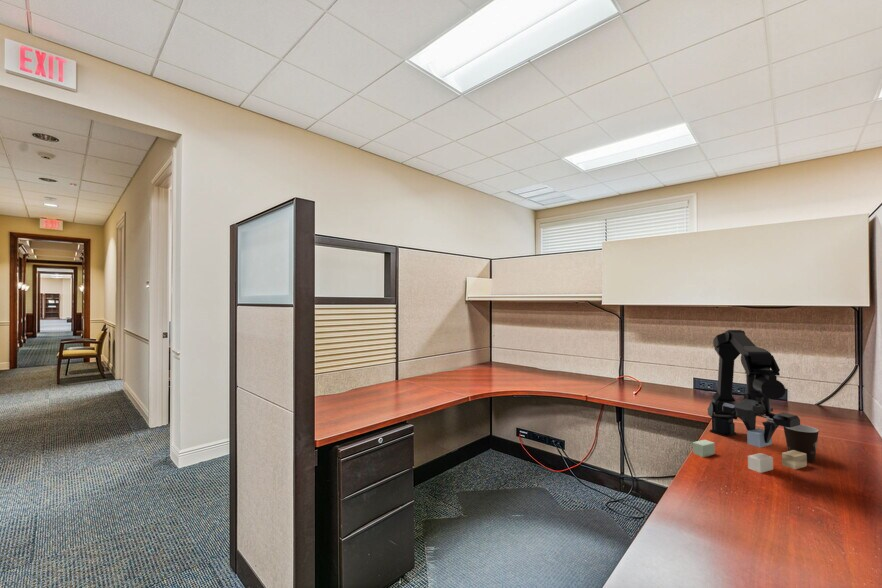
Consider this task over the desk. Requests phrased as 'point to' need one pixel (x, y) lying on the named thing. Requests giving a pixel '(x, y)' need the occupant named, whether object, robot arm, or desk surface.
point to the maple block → (794, 459)
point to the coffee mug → (802, 440)
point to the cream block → (760, 462)
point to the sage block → (704, 448)
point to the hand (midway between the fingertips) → (759, 440)
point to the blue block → (757, 438)
